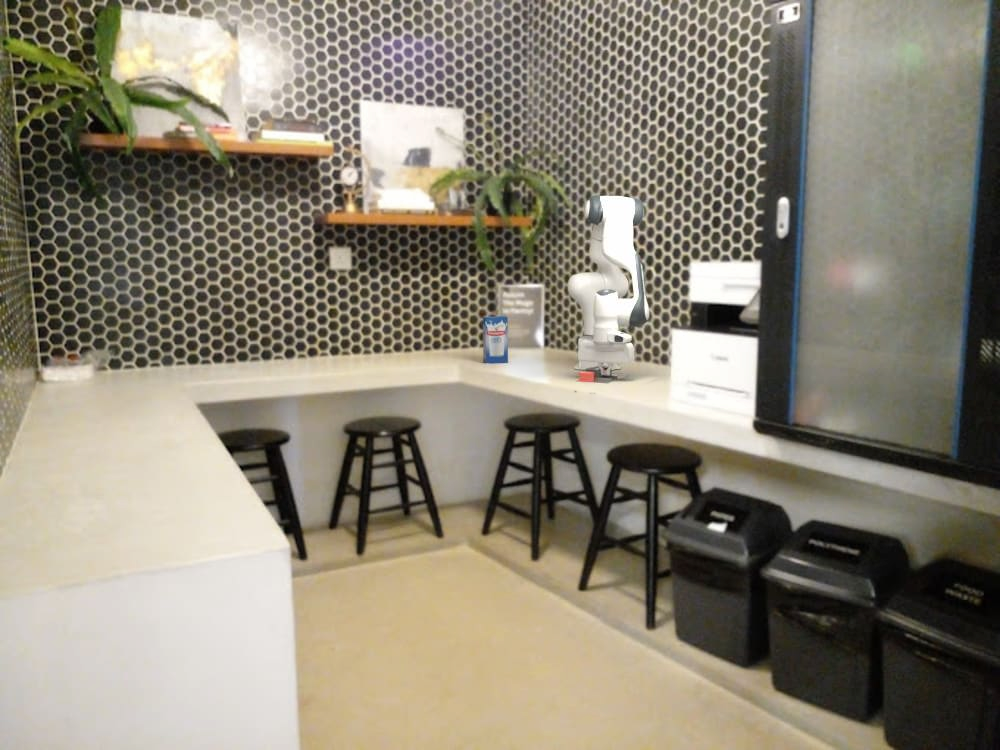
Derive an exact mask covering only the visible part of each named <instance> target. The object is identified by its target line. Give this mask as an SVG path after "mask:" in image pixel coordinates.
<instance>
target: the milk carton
mask: <svg viewBox="0 0 1000 750" xmlns="http://www.w3.org/2000/svg"><path fill="white" fill-rule="evenodd" d="M508 318H509V317H508V316H502V315H501V316H482V341H483V342H482V346H483V347H482V350H483V351H482V352H483V355H482V356H483V357H482V358H483V363H484V362H485V364H486V363H491V364H508V363H509V346H508V345H509V343H508V342H509V333H508V332H509V331H508V329H509V328H508V326H509V324H508V323H509V322H508V321H509V319H508Z"/></svg>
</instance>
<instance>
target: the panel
mask: <svg viewBox="0 0 1000 750" xmlns="http://www.w3.org/2000/svg"><path fill="white" fill-rule="evenodd" d="M608 367H609V366H603V368H604V370H607V369H608ZM594 368H599V366H596V367H594ZM612 371H613V370H612V368H611V370H610V375H609V376H608V375H603V378H597V377H594V381H592V382H591V383H596V384H597V383H598V384H610V383H612V382H615V381H618V380H620V379H624V378H625V377H628V376H629V375H628V374H617V373H615V374H614V373H612ZM576 382H580V383H582V382H581V381H579V379H578V380H576Z"/></svg>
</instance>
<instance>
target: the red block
mask: <svg viewBox="0 0 1000 750" xmlns="http://www.w3.org/2000/svg"><path fill="white" fill-rule="evenodd" d="M578 380H579V381H581V382H580V383H593V382H592V381H594V372H585V371H581V372H579V373H578Z"/></svg>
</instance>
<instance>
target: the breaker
mask: <svg viewBox="0 0 1000 750" xmlns="http://www.w3.org/2000/svg"><path fill="white" fill-rule="evenodd" d="M584 372H594V377H597V378H603V375H601V370H600V368H593V367H590V368H587V369H585V370H584Z"/></svg>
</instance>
